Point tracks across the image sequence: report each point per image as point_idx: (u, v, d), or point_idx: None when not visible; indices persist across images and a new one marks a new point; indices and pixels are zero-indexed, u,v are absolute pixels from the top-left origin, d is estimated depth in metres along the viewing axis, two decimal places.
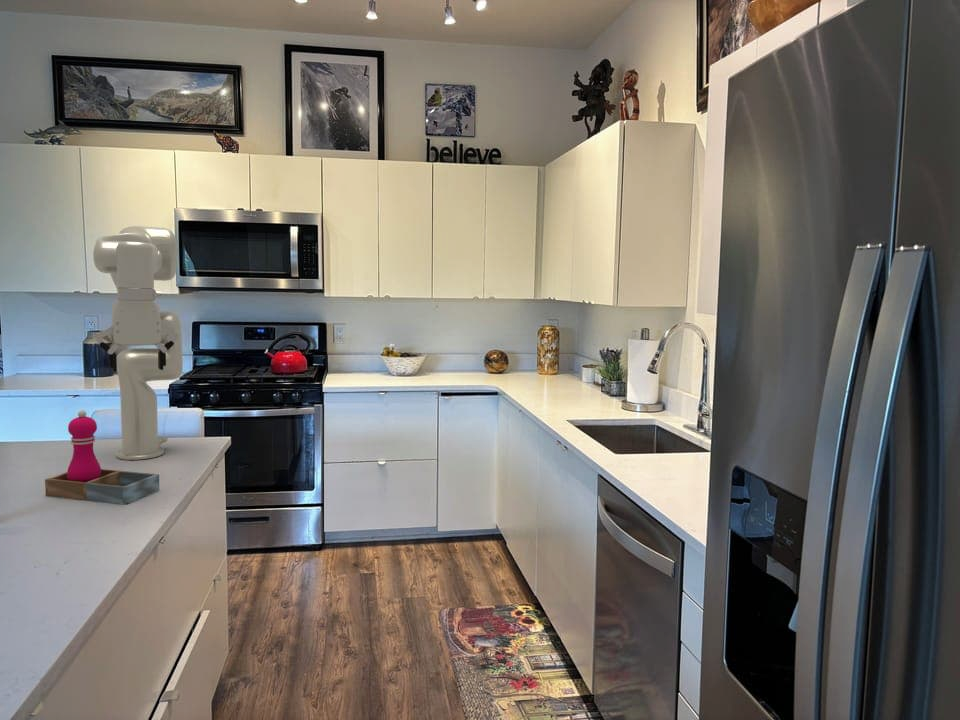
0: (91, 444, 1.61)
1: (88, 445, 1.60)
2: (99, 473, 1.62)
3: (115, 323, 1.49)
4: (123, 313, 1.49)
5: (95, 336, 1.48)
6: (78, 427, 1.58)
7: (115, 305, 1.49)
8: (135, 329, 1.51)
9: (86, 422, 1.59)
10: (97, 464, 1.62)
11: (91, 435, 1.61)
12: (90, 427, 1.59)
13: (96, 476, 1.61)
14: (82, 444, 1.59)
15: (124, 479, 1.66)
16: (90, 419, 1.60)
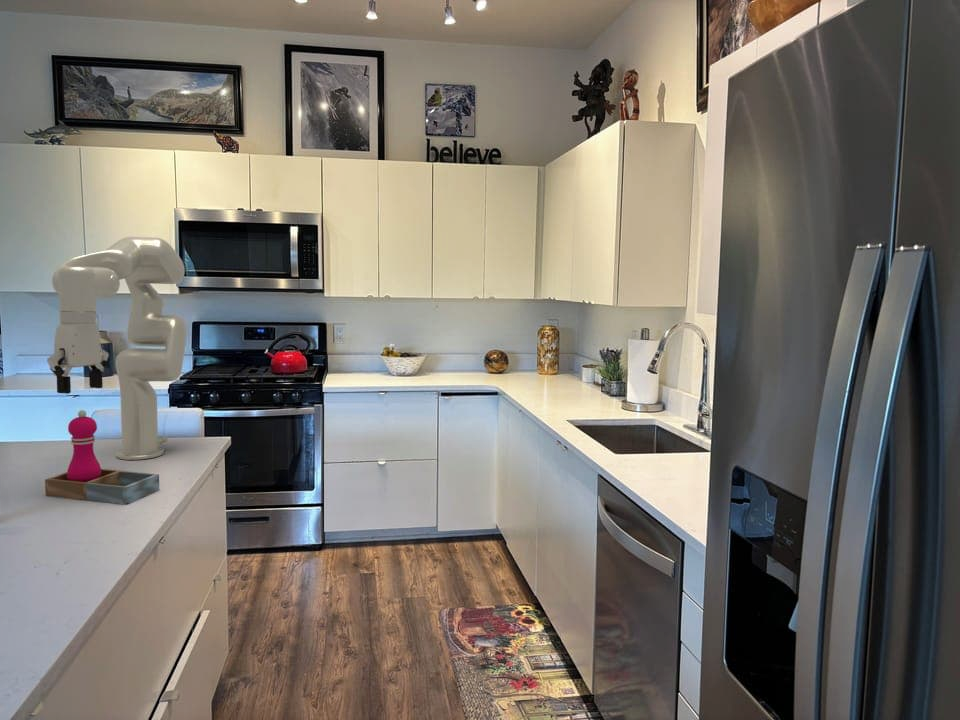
0: (91, 444, 1.61)
1: (88, 445, 1.60)
2: (99, 473, 1.62)
3: (71, 346, 1.54)
4: (77, 336, 1.55)
5: (52, 360, 1.50)
6: (78, 427, 1.58)
7: (68, 328, 1.54)
8: (86, 351, 1.57)
9: (86, 422, 1.59)
10: (97, 464, 1.62)
11: (91, 435, 1.61)
12: (90, 427, 1.59)
13: (96, 476, 1.61)
14: (82, 444, 1.59)
15: (124, 479, 1.66)
16: (90, 419, 1.60)
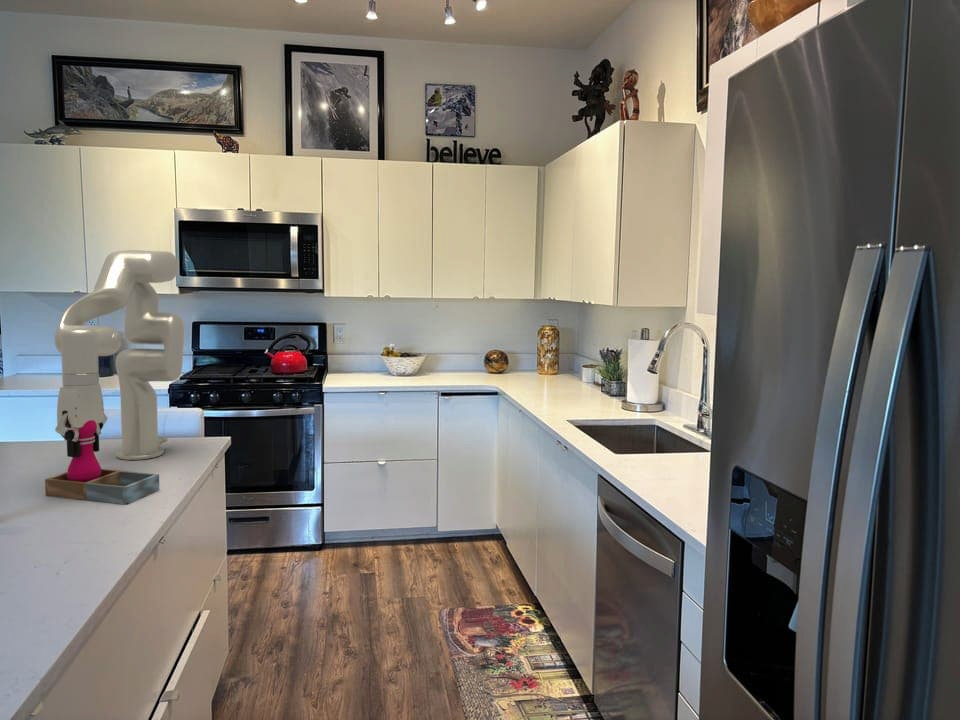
0: (91, 444, 1.61)
1: (88, 445, 1.60)
2: (99, 473, 1.62)
3: (74, 408, 1.55)
4: (80, 398, 1.57)
5: (60, 430, 1.54)
6: None
7: (71, 391, 1.55)
8: (88, 411, 1.59)
9: (86, 422, 1.59)
10: (97, 464, 1.62)
11: (91, 435, 1.61)
12: (90, 427, 1.59)
13: (96, 476, 1.61)
14: (82, 444, 1.59)
15: (124, 479, 1.66)
16: None
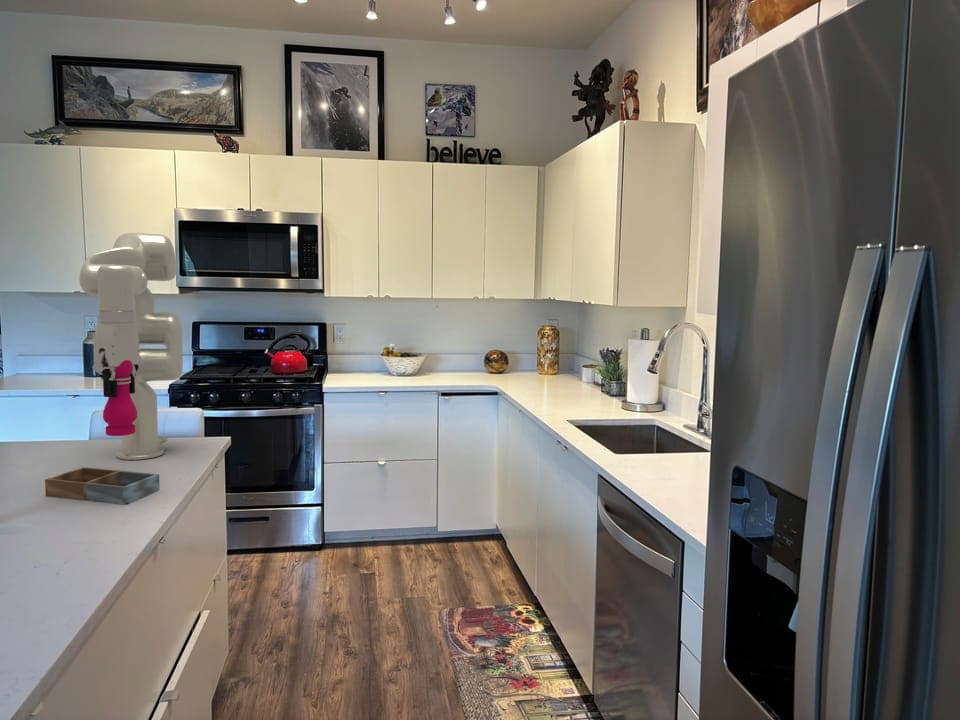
0: (127, 385, 1.57)
1: (124, 385, 1.56)
2: (135, 414, 1.58)
3: (111, 346, 1.52)
4: (117, 336, 1.53)
5: (97, 367, 1.50)
6: None
7: (108, 328, 1.51)
8: (125, 350, 1.55)
9: None
10: (133, 405, 1.59)
11: (127, 375, 1.57)
12: (127, 367, 1.56)
13: (132, 417, 1.57)
14: (118, 384, 1.55)
15: (124, 479, 1.66)
16: None
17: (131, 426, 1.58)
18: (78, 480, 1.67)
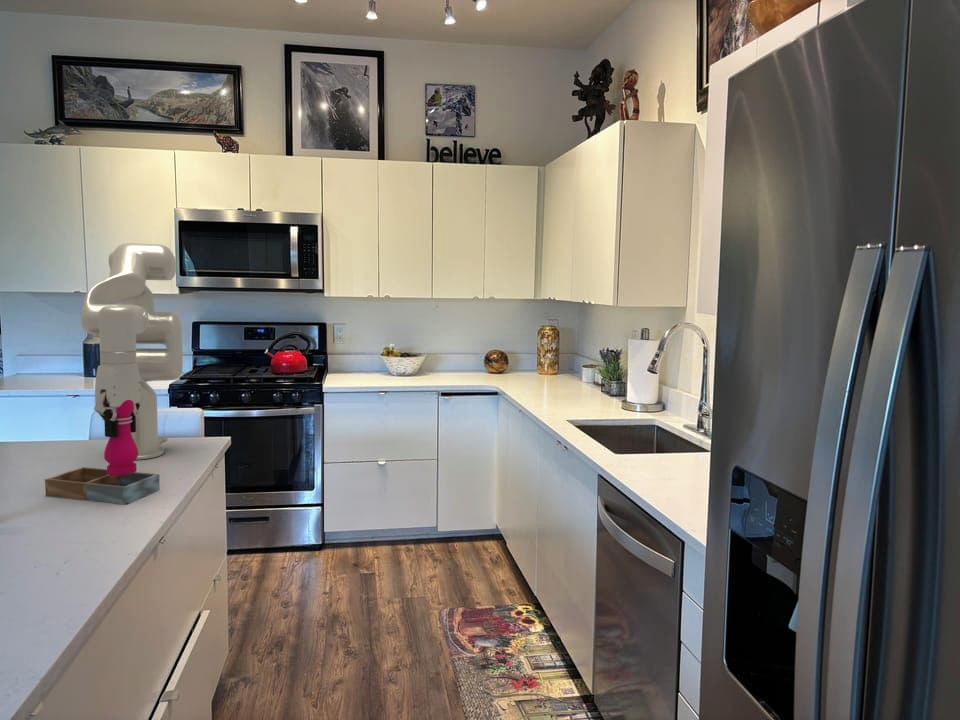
0: (128, 424, 1.58)
1: (126, 425, 1.57)
2: (136, 454, 1.59)
3: (112, 387, 1.53)
4: (118, 377, 1.54)
5: (99, 409, 1.51)
6: None
7: (109, 369, 1.52)
8: (126, 390, 1.56)
9: (124, 401, 1.56)
10: (134, 444, 1.59)
11: (128, 415, 1.58)
12: (128, 407, 1.57)
13: (133, 457, 1.58)
14: (120, 424, 1.56)
15: (124, 479, 1.66)
16: None
17: (132, 465, 1.59)
18: (78, 480, 1.67)
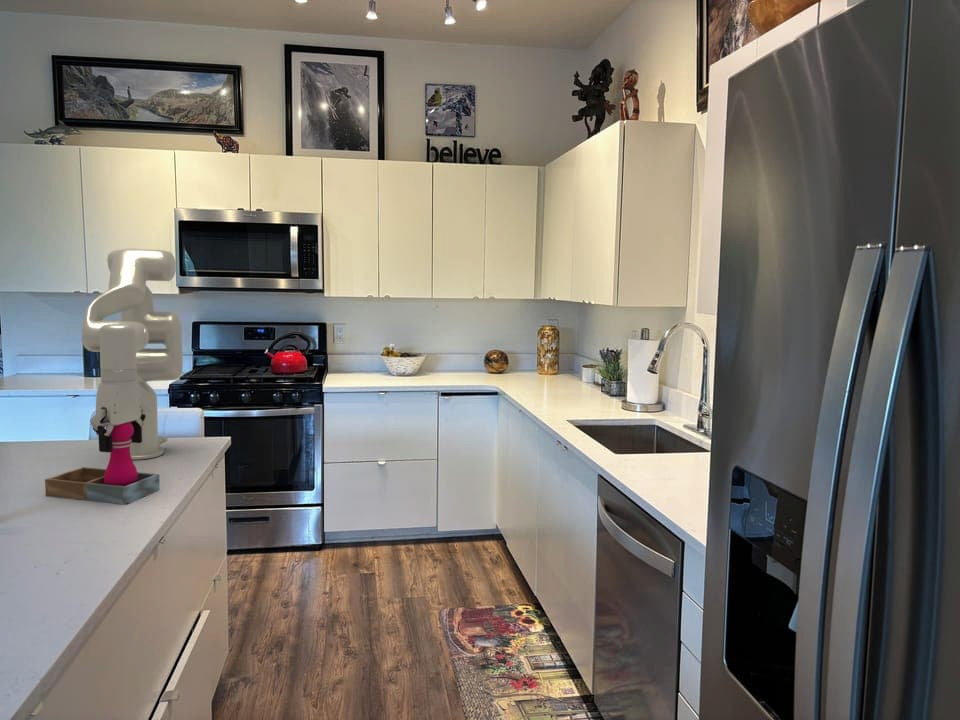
0: (128, 447, 1.59)
1: (125, 448, 1.58)
2: (136, 477, 1.60)
3: (113, 405, 1.53)
4: (119, 394, 1.54)
5: (95, 420, 1.50)
6: (115, 430, 1.56)
7: (110, 387, 1.53)
8: (127, 408, 1.57)
9: (123, 425, 1.57)
10: (134, 467, 1.60)
11: (128, 438, 1.59)
12: (127, 431, 1.57)
13: (133, 480, 1.59)
14: (119, 447, 1.57)
15: None
16: (127, 422, 1.58)
17: None
18: (78, 480, 1.67)
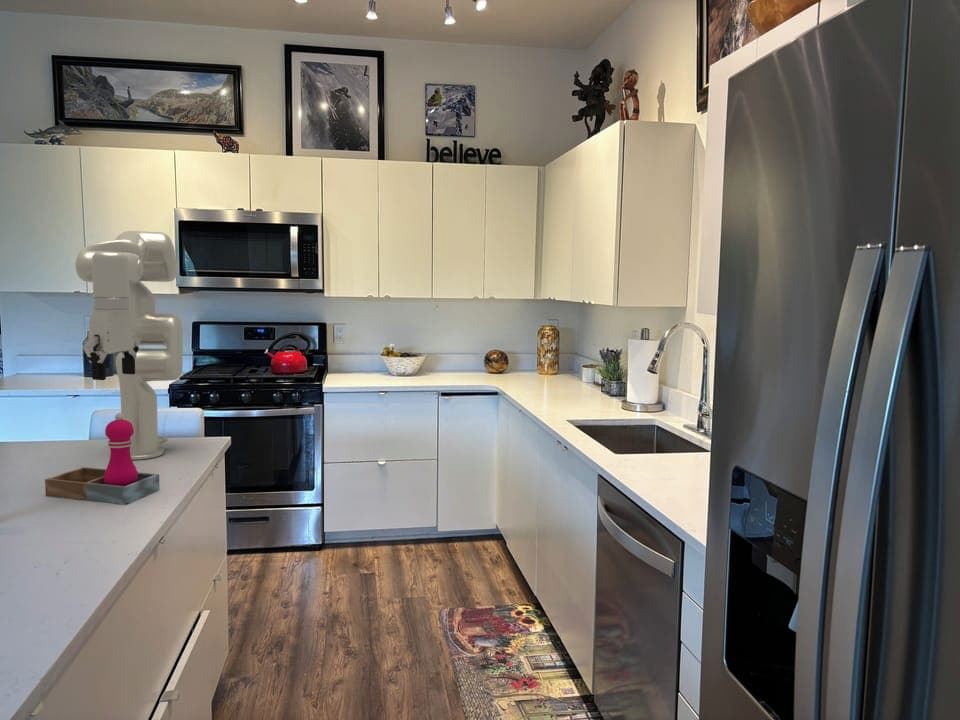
0: (128, 447, 1.59)
1: (125, 448, 1.58)
2: (136, 477, 1.60)
3: (106, 332, 1.53)
4: (112, 322, 1.54)
5: (88, 346, 1.49)
6: (115, 430, 1.56)
7: (102, 315, 1.52)
8: (120, 337, 1.57)
9: (123, 425, 1.57)
10: (134, 467, 1.60)
11: (128, 438, 1.59)
12: (127, 431, 1.57)
13: (133, 480, 1.59)
14: (119, 447, 1.57)
15: None
16: (127, 422, 1.58)
17: None
18: (78, 480, 1.67)
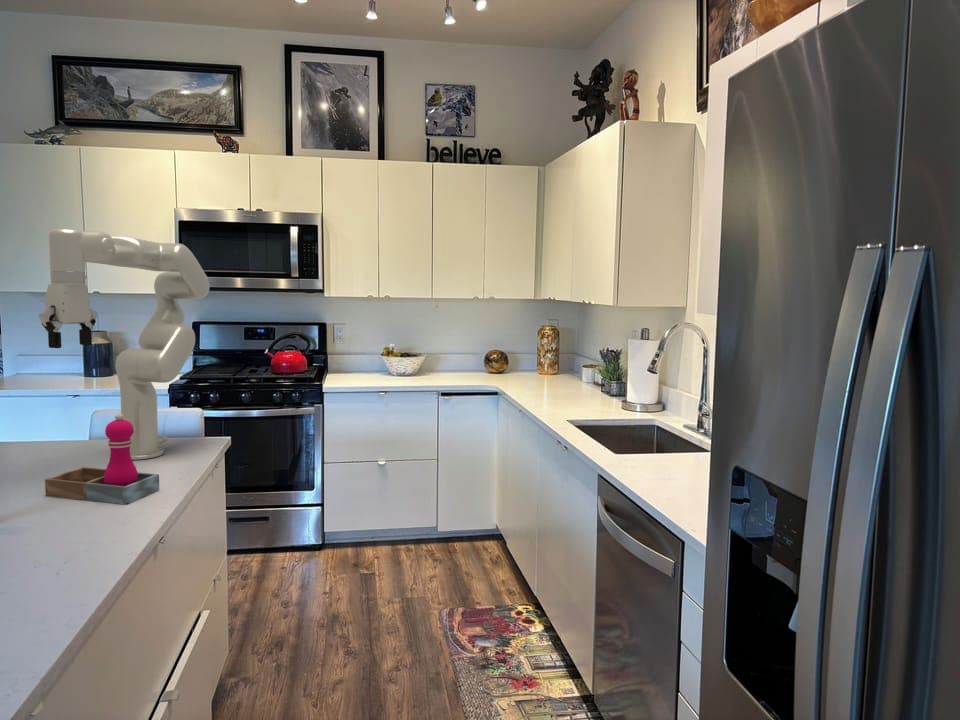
0: (128, 447, 1.59)
1: (125, 448, 1.58)
2: (136, 477, 1.60)
3: (61, 303, 1.64)
4: (67, 294, 1.65)
5: (43, 316, 1.61)
6: (115, 430, 1.56)
7: (58, 287, 1.64)
8: (75, 308, 1.68)
9: (123, 425, 1.57)
10: (134, 467, 1.60)
11: (128, 438, 1.59)
12: (127, 431, 1.57)
13: (133, 480, 1.59)
14: (119, 447, 1.57)
15: None
16: (127, 422, 1.58)
17: None
18: (78, 480, 1.67)
